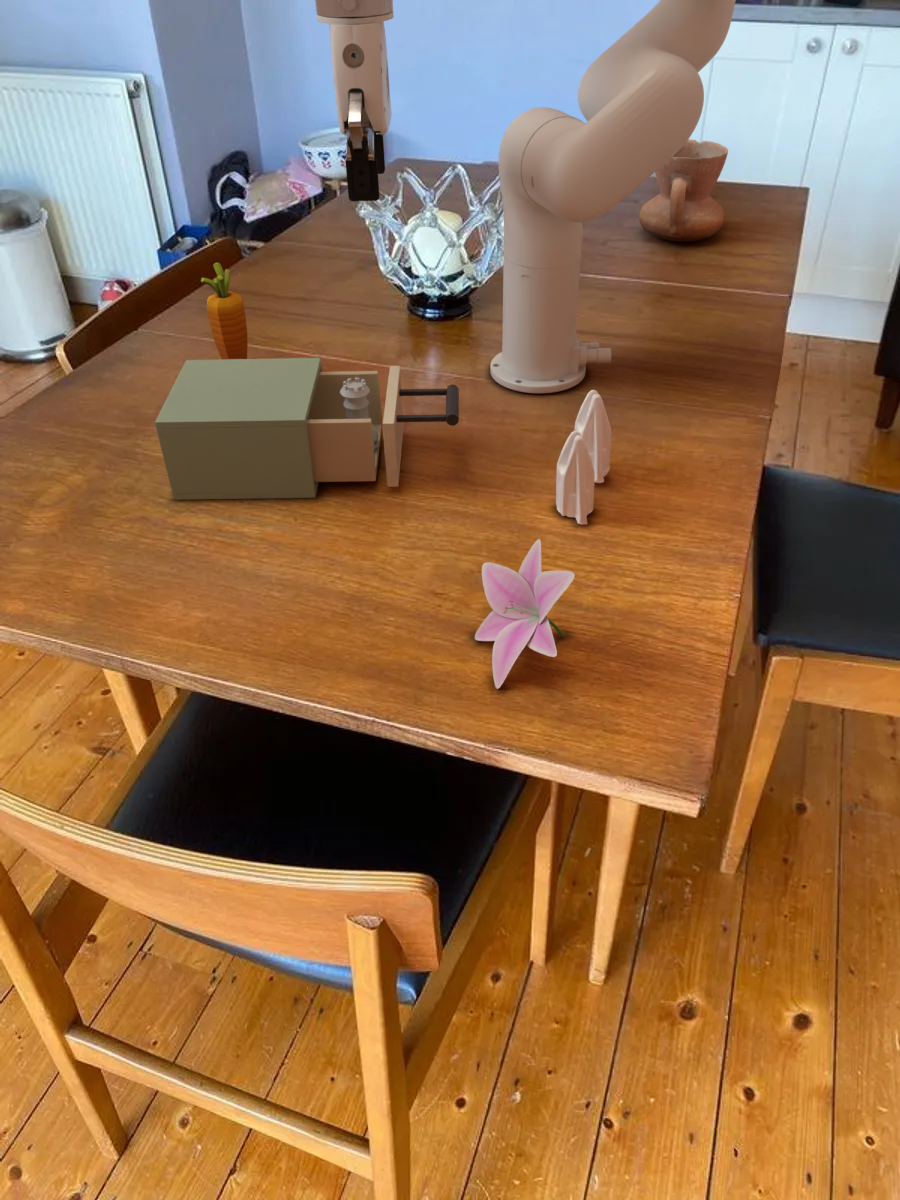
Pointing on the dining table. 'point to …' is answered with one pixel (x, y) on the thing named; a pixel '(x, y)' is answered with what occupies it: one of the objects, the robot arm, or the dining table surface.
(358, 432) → the drawer
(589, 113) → the robot arm
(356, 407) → the rook chess piece
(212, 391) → the cabinet
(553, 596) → the lily
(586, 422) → the shaker set
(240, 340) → the carrot
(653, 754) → the dining table surface
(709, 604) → the dining table surface
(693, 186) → the ceramic jug
